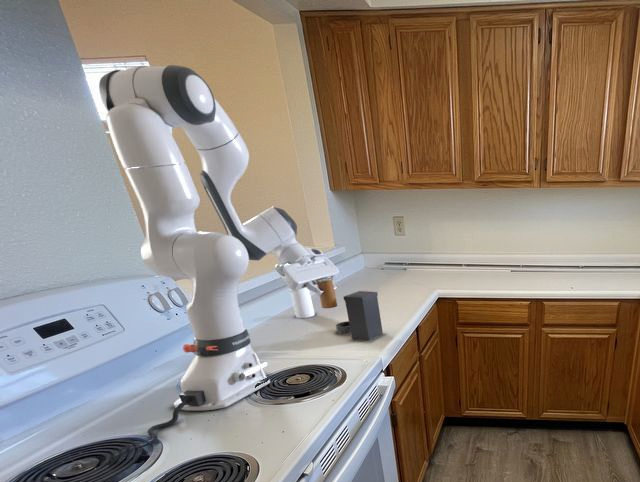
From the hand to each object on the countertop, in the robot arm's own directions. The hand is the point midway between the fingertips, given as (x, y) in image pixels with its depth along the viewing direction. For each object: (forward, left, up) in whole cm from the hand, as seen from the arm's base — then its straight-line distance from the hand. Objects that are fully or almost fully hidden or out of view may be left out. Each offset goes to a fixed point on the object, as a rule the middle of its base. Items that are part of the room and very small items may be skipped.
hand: (328, 292), depth 135 cm
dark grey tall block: (+4, -9, -17) cm, 20 cm away
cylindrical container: (+32, +29, -17) cm, 47 cm away
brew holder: (+10, +1, -17) cm, 20 cm away
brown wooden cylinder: (0, +1, -5) cm, 5 cm away
